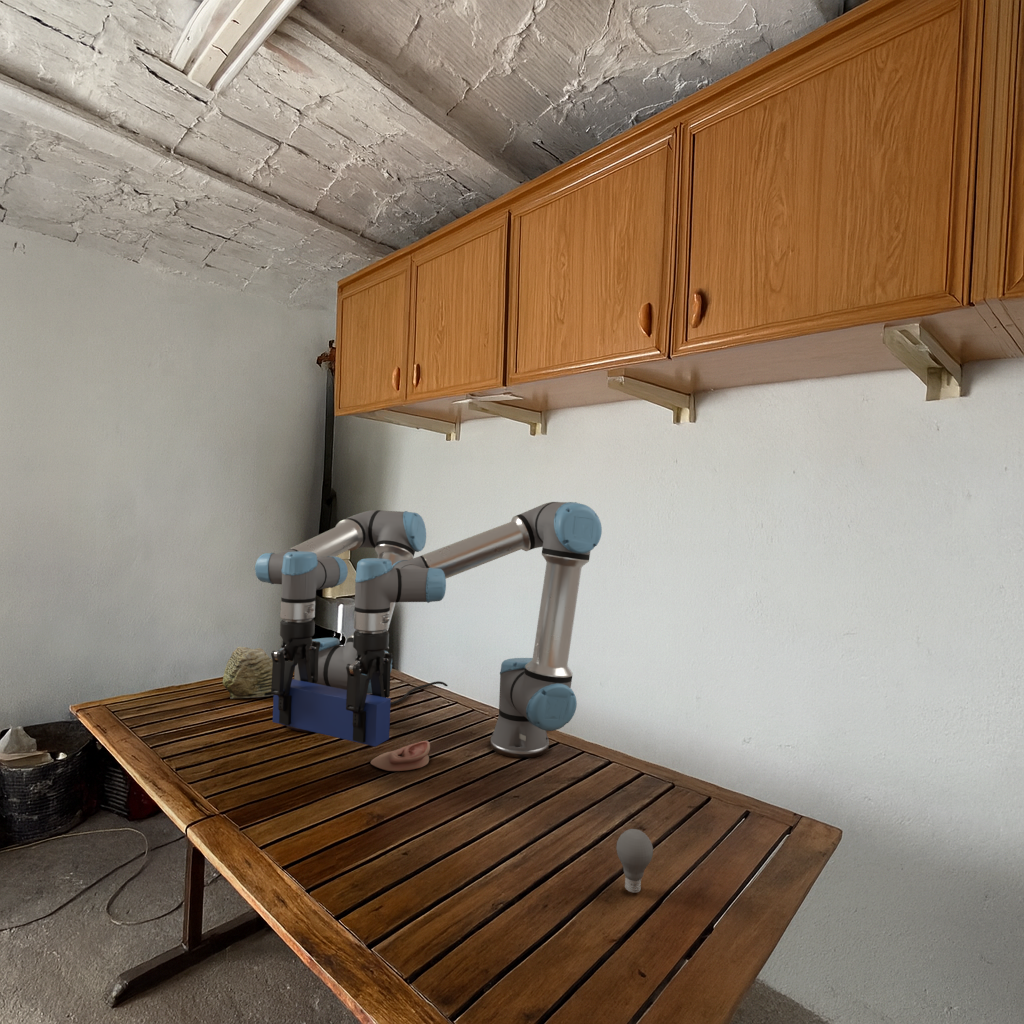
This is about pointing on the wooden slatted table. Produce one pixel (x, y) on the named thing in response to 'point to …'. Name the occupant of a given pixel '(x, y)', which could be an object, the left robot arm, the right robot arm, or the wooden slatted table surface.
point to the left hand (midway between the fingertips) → (294, 719)
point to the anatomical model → (404, 757)
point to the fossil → (248, 673)
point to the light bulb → (634, 857)
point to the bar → (334, 712)
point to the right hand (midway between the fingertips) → (367, 736)
